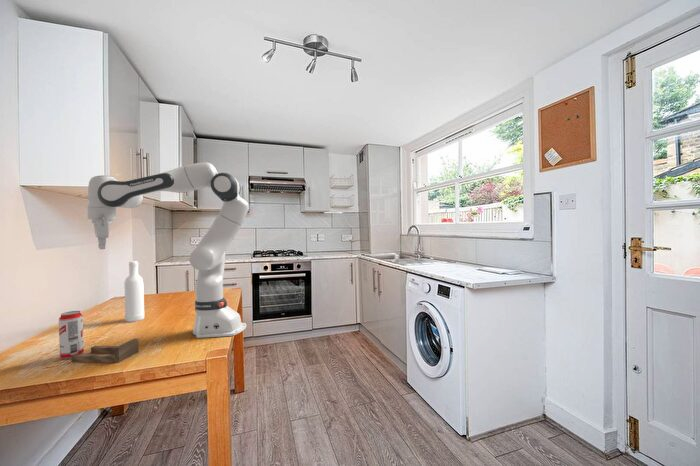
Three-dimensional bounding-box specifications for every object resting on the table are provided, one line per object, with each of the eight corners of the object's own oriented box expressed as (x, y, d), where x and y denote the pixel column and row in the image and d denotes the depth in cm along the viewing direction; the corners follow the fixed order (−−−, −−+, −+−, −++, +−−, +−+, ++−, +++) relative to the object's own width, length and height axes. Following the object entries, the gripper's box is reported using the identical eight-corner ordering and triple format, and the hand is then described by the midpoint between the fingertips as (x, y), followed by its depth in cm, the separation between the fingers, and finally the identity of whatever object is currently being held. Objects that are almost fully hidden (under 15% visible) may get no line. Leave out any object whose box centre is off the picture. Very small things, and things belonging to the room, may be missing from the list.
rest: (138, 351, 106) (138, 338, 106) (119, 362, 98) (118, 348, 97) (94, 351, 107) (94, 338, 107) (71, 361, 99) (71, 347, 98)
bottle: (148, 317, 148) (147, 260, 148) (135, 322, 140) (134, 262, 140) (134, 317, 149) (133, 260, 148) (120, 322, 141) (119, 262, 141)
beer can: (62, 361, 99) (61, 316, 98) (57, 357, 102) (56, 313, 102) (86, 354, 104) (85, 311, 104) (80, 350, 107) (79, 309, 107)
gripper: (113, 214, 111) (113, 249, 111) (110, 216, 126) (110, 247, 126) (92, 214, 107) (91, 250, 107) (91, 215, 121) (91, 247, 122)
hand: (101, 248), depth 116 cm, fingers open, 8 cm apart
